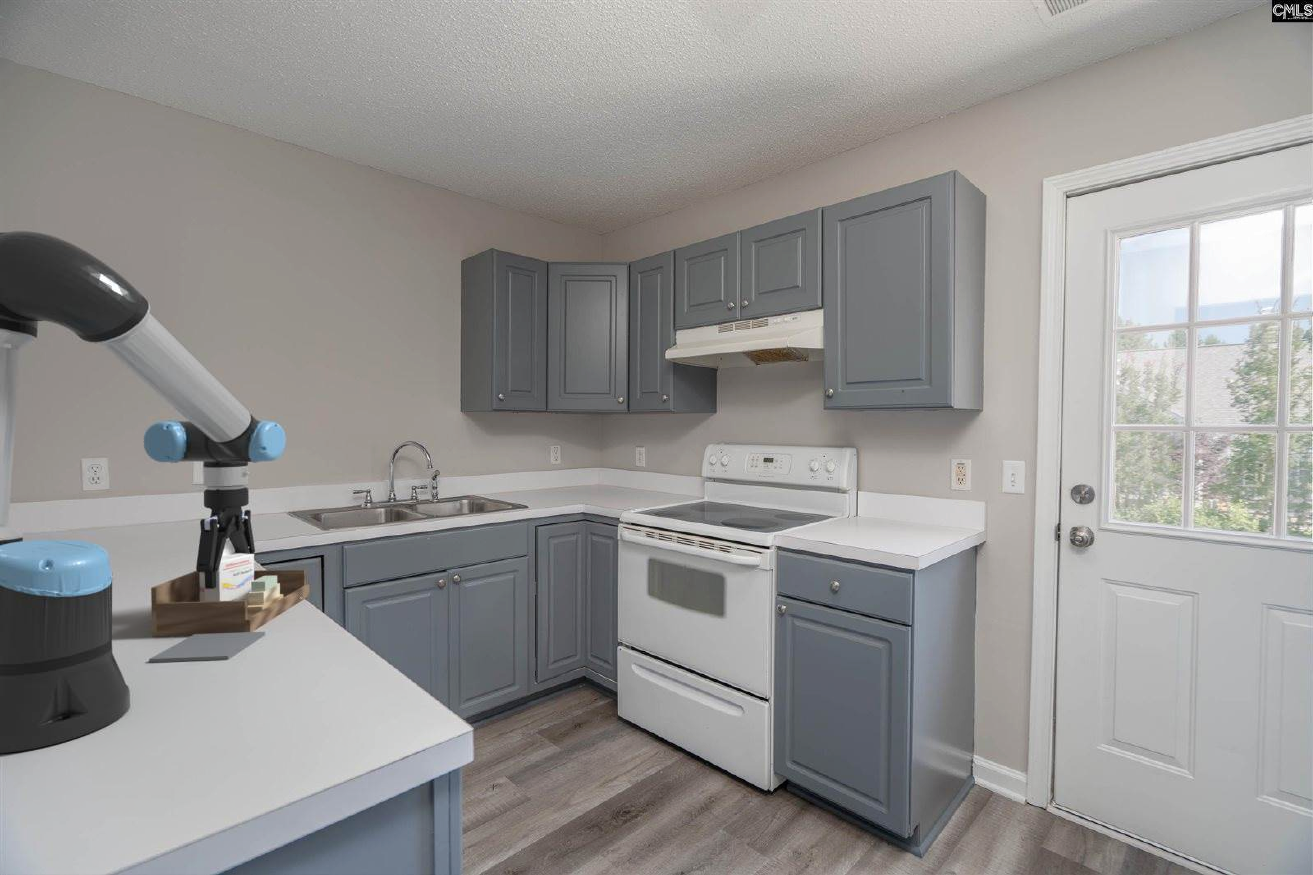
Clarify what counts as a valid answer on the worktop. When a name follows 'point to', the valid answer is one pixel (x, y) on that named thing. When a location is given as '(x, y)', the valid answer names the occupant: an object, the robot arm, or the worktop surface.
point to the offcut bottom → (261, 606)
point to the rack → (217, 606)
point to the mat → (208, 647)
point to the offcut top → (263, 583)
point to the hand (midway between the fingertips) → (228, 596)
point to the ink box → (233, 575)
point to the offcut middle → (264, 596)
